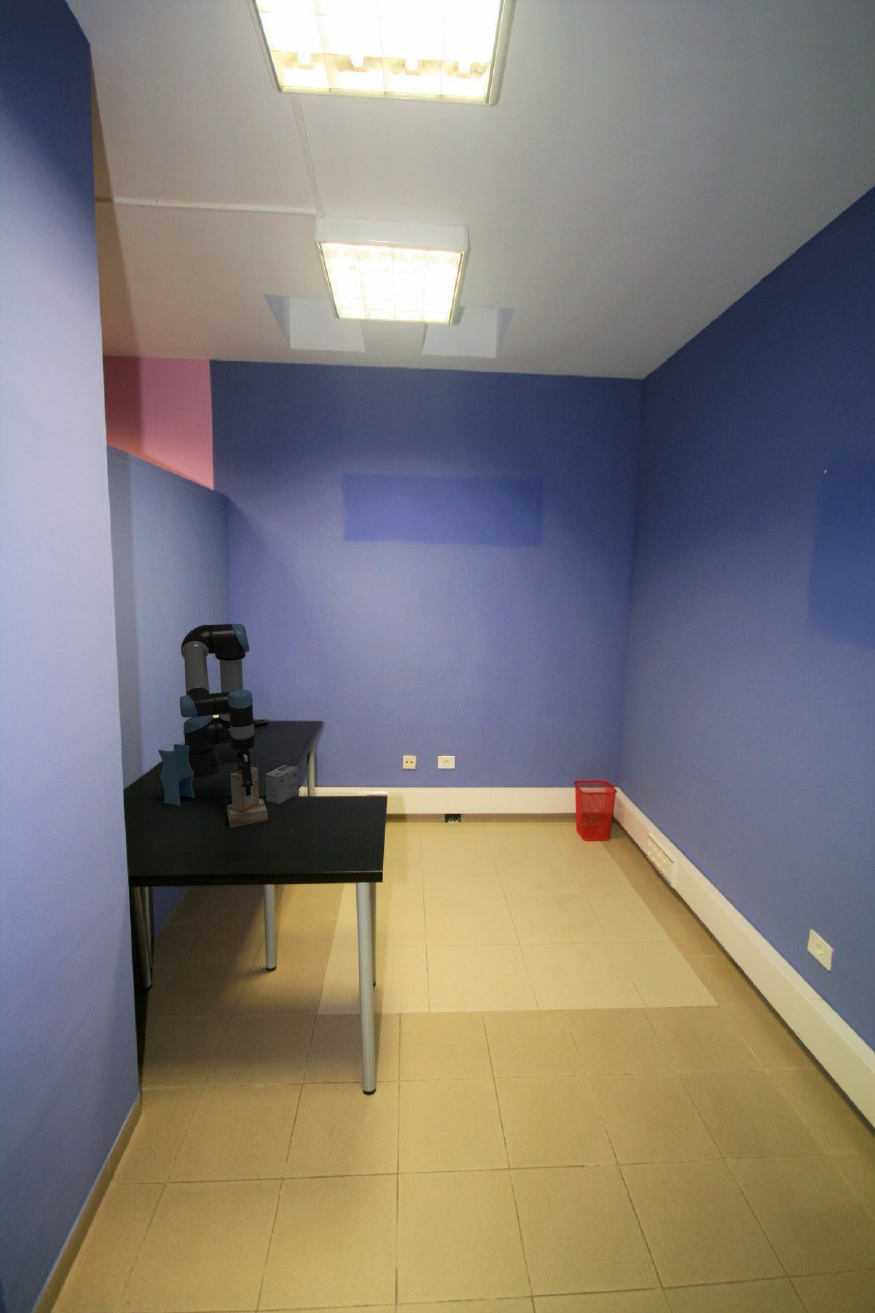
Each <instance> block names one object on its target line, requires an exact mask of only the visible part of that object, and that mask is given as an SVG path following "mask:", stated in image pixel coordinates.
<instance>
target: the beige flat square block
mask: <svg viewBox="0 0 875 1313" xmlns="http://www.w3.org/2000/svg"><path fill="white" fill-rule="evenodd" d="M226 813H227V814H226V815H227V819H228V823H229V828H237V827H241V826H246V825H252V824H257V823H261V822H267V821H268V820H269V819H268V818H269V816H268V809H267V806H266V804H265V802H264V799H263V798H259V803H258V804H256V805H254V806H252V807H251V808H249V809H247V810H246V811H244V812H239V811H235V810H233V809H232V803H231V804H228V805H227V806H226Z"/></svg>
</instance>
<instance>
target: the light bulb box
mask: <svg viewBox="0 0 875 1313" xmlns="http://www.w3.org/2000/svg"><path fill="white" fill-rule="evenodd" d="M264 780H265V794H266V796H265V797H266V801H267V802H271V803H274V804H277V805H280V804H282V803H283V802H285V801H288V800H289V799H291V798H292V797H294V796H296V795H298V794H299V782H298V780H299V778H298V767H297V766H292V765H288V764H283V765H281V766H279V767H277V768H275V769H273V770H270V771H268V772H265V773H264Z"/></svg>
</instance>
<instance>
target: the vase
mask: <svg viewBox="0 0 875 1313" xmlns="http://www.w3.org/2000/svg"><path fill="white" fill-rule="evenodd" d="M157 752H158V754H159V755H160V757H161V762H162V769H161V773H160V776H159V780H160V781H161V782H160V783H161V784H162V787H163V791H164V792H163V793H164V798H163V799H164V800H163V803H165V804H170V805H175V806H181V798H180V797H186V798H187V797H188V798H193V799H194V798H196V795H195V792H194V789H193V782H194V781H193V780H194V777H195V776H194V772H193V770H192V768H191V766H190V763H189V758H188V756H189V746H187V745H185V744H178V743H173V751H171V750H164V749H158V750H157Z"/></svg>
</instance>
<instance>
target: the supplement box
mask: <svg viewBox="0 0 875 1313" xmlns="http://www.w3.org/2000/svg"><path fill="white" fill-rule="evenodd" d="M251 774H252V783H253V785H252V793H253V804H247V805H244V792H243V787H241V785H242V784H244V783H243V775H242V769H241V770H238V769H237V771H235V772H231V773H230V786H231V787H230V788H231V790H230V791H231V802H232V803H231V804H232V809H233V810H235V811H239V812H244V811H246V810H247V809H249V808H251V807H252V806H254V805H256V804H258V803H259V799H260V796H259V795H260V793H259V792H260V791H259V790H260V789H259V768H258V767H253V766H251ZM246 783H247V782H246Z"/></svg>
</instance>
